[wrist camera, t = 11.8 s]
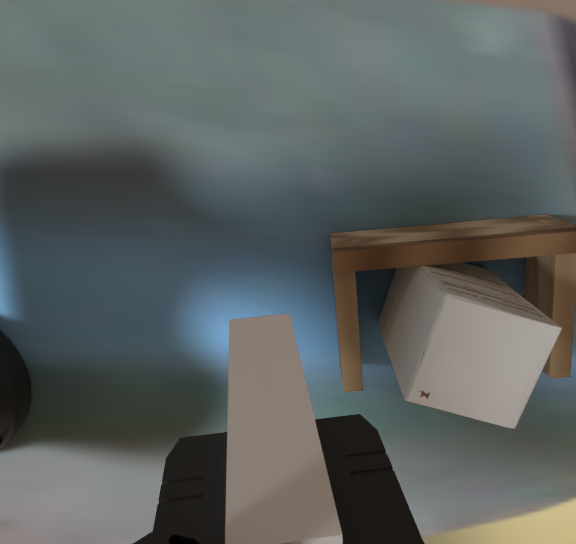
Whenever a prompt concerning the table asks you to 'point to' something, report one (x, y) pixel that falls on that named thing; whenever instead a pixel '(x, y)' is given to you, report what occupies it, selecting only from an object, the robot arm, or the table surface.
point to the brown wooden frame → (457, 249)
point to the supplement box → (464, 341)
